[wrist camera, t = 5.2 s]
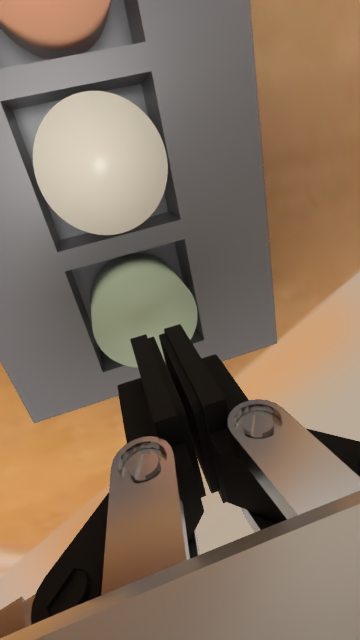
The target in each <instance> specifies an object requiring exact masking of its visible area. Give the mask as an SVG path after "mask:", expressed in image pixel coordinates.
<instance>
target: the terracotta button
mask: <svg viewBox="0 0 360 640" xmlns="http://www.w3.org/2000/svg"><path fill="white" fill-rule="evenodd" d="M110 5H111V0H0V28H1V29H2V30H3V31H4V32H5V33H6V34H7V35H8V36H9V37H10V39H12V40H13V41H14V42H15V43H16V44H18V45H19V46H20V47H22V48H24V49H25V50H27V51H28V52H30V53H32V54H35V55H37V56H40V57H43V58H47V59H55V58H61V57H66V56H71V55H77V54H82V53H84V52H85V51H87V50H88V49H89V48H91V47H92V46H93V45H94V44H95V42H96V41H97V40H98V38H99V37H100V35H101V33H102V32H103V30H104V27H105V25H106V22H107V18H108V14H109V10H110Z"/></svg>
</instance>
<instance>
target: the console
mask: <svg viewBox="0 0 360 640" xmlns="http://www.w3.org/2000/svg"><path fill="white" fill-rule="evenodd" d="M85 91H104V92H109V93H113V94H116V95H119V96H121V97H123V98H125V99H127V100H129V101H130V102H132V103H133V104H135V105H136V106H138V107H139V108H140V109H141V110H142V111H143V112H144V113H145V114H146V115H147V116H148V117H149V118H150V120H151V121H152V122H153V124H154V125H155V127H156V128H157V130H158V132H159V134H160V136H161V139H162V141H163V144H164V147H165V151H166V155H167V163H168V175H167V183H166V187H165V191H164V194H163V197H162V199H161V201H160V203H159V205H158V206H157V208H156V209H155V211H154V212H153V213H152V214H151V216H150V217H149V218H148V219H147V220H145V221H144V222H143V223H142V224H140V225H139V226H137V227H136V228H134V229H132V230H130V231H127V232H124V233H120V234H115V235H97V234H92V233H88V232H85V231H82V230H80V229H78V228H76V227H73V226H72V225H70V224H69V223H67V222H66V221H64V220H63V219H62V218H61V217H60V216H58V215H57V213H56V212H55V211H54V210H53V209H52V208H51V207H50V205H49V204H48V203H47V201H46V200H45V198H44V196H43V195H42V193H41V191H40V188H39V186H38V184H37V180H36V177H35V173H34V167H33V145H34V141H35V136H36V133H37V131H38V128H39V126H40V124H41V122H42V120H43V118H44V117H45V116H46V114H47V113H48V112H49V111H50V110H51V109H52V108H53V107H54V106H55V105H56V104H57V103H58V102H60V101H61V100H63V99H64V98H66V97H69V96H71V95H73V94H76V93H80V92H85ZM137 253H138V254H147V255H151V256H154V257H157V258H159V259H161V260H162V261H164V262H165V263H166V264H167V265H169V266H170V267H171V269H172V270H173V271H174V272H175V273H176V275H177V276H178V277H179V278H180V279H181V281H182V282H183V283H184V284H185V286H186V287H187V288H188V289H189V290H190V292H191V294H192V295H193V298H194V300H195V303H196V306H197V325H196V328H195V332H194V334H193V336H192V338H191V340H190V341H191V342H192V344H193V346H194V347H195V349H196V350H197V352H198V354H199V355H200V357H201V358H204V357H207V356H211V355H214V354H216V355H217V356H218V357H219V359H220V360H221V361H224V360H227V359H230V358H234V357H237V356H240V355H243V354H246V353H249V352H252V351H255V350H258V349H261V348H264V347H267V346H270V345H273V344H276V343H277V332H276V320H275V307H274V295H273V282H272V270H271V258H270V245H269V233H268V220H267V208H266V195H265V183H264V170H263V158H262V145H261V133H260V120H259V108H258V96H257V83H256V71H255V58H254V46H253V33H252V21H251V8H250V0H111V5H110V10H109V14H108V18H107V22H106V25H105V27H104V30H103V32H102V33H101V35H100V37H99V38H98V40H97V41H96V42H95V44H94V45H93V46H92V47H91V48H89V49H88V50H87V51H85V52H84V53H82V54H77V55H71V56H66V57H61V58H55V59H47V58H43V57H40V56H37V55H35V54H32V53H30V52H28V51H27V50H25V49H24V48H22V47H20V46H19V45H18V44H16V43H15V42H14V41H13V40H12V39H10V37H9V36H8V35H7V34H6V33H5V32H4V31H3V30H2V29H1V28H0V361H1V363H2V365H3V367H4V369H5V371H6V373H7V374H8V376H9V378H10V380H11V382H12V384H13V385H14V387H15V389H16V391H17V393H18V395H19V397H20V398H21V400H22V402H23V404H24V406H25V408H26V409H27V411H28V413H29V415H30V417H31V419H32V421H33V422H34V423H37V422H40V421H43V420H46V419H49V418H52V417H55V416H58V415H61V414H64V413H67V412H70V411H73V410H76V409H79V408H82V407H85V406H88V405H91V404H94V403H97V402H100V401H103V400H106V399H109V398H112V397H115V396H118V395H119V393H118V387H117V386H118V385H119V384H122V383H125V382H128V381H132V380H135V379H138V378H141V376H140V373H139V369H138V367H130V366H126V365H123V364H120V363H118V362H116V361H114V360H112V359H111V358H109V357H108V356H107V355H106V354H105V353H104V352H103V351H102V350H101V349H100V347H99V345H98V344H97V342H96V340H95V337H94V334H93V329H92V318H91V304H90V293H91V288H92V285H93V282H94V280H95V278H96V276H97V275H98V273H99V272H100V271H101V270H102V268H103V267H105V266H106V265H107V264H108V263H109V262H111V261H112V260H114V259H116V258H118V257H121V256H124V255H128V254H137ZM165 364H166V362H165Z"/></svg>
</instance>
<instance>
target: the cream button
mask: <svg viewBox="0 0 360 640" xmlns="http://www.w3.org/2000/svg"><path fill="white" fill-rule="evenodd" d="M33 167H34V173H35V177H36V180H37V184H38V186H39V188H40V191H41V193H42V195H43V196H44V198H45V200H46V201H47V203H48V204H49V205H50V207H51V208H52V209H53V210H54V211H55V212H56V213H57V215H58V216H60V217H61V218H62V219H63V220H64V221H66V222H67V223H69V224H70V225H72V226H73V227H76V228H78V229H80V230H82V231H85V232H88V233H92V234H97V235H115V234H120V233H124V232H127V231H130V230H132V229H134V228H136V227H137V226H139V225H140V224H142V223H143V222H144V221H145V220H147V219H148V218H149V217H150V216H151V214H152V213H153V212H154V211H155V209H156V208H157V206H158V205H159V203H160V201H161V199H162V197H163V194H164V191H165V187H166V183H167V175H168V163H167V155H166V151H165V147H164V144H163V141H162V139H161V136H160V134H159V132H158V130H157V128H156V127H155V125H154V124H153V122H152V121H151V120H150V118H149V117H148V116H147V115H146V114H145V113H144V112H143V111H142V110H141V109H140V108H139V107H138V106H136V105H135V104H133V103H132V102H130V101H129V100H127V99H125V98H123V97H121V96H119V95H116V94H113V93H109V92H104V91H85V92H80V93H76V94H73V95H71V96H69V97H66V98H64V99H63V100H61V101H60V102H58V103H57V104H56V105H55V106H54V107H53V108H52V109H51V110H50V111H49V112H48V113H47V114H46V116H45V117H44V118H43V120H42V122H41V124H40V126H39V128H38V131H37V133H36V136H35V141H34V145H33Z"/></svg>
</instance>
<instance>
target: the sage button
mask: <svg viewBox="0 0 360 640" xmlns="http://www.w3.org/2000/svg"><path fill="white" fill-rule="evenodd" d="M90 304H91V318H92V329H93V334H94V337H95V340H96V342H97V344H98V345H99V347H100V349H101V350H102V351H103V352H104V353H105V354H106V355H107V356H108V357H109V358H111V359H112V360H114V361H116V362H118V363H120V364H123V365H126V366H130V367H138V366H137V362H136V358H135V355H134V351H133V348H132V344H131V341H130V339H131V338H135V337H138V336H141V335H145V334H146V335H147V337H148V338H150V337H154V338H155V340H156V342H157V345H158V347H159V349H160V352H161V354H162V357H163V359H164V361H165V358H164V354H163V350H162V346H161V343H160V338H159V335H160V334H164V329H165V328H168V327H172V326H175V325H178V324H180V325H181V326H182V328H183V329H184V331H185V332H186V334H187V336H188V337H189V339H190V340H191V338H192V336H193V334H194V332H195V328H196V325H197V306H196V303H195V300H194V298H193V295H192V294H191V292H190V290H189V289H188V288H187V287H186V286H185V284H184V283H183V282H182V281H181V279H180V278H179V277H178V276H177V275H176V273H175V272H174V271H173V270H172V269H171V267H170V266H169V265H167V264H166V263H165V262H164V261H162V260H161V259H159V258H157V257H154V256H151V255H147V254H138V253H137V254H128V255H124V256H121V257H118V258H116V259H114V260H112V261H111V262H109V263H108V264H107V265H106V266H105V267H103V268H102V270H101V271H100V272H99V273H98V275H97V276H96V278H95V280H94V282H93V285H92V288H91V293H90Z"/></svg>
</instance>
